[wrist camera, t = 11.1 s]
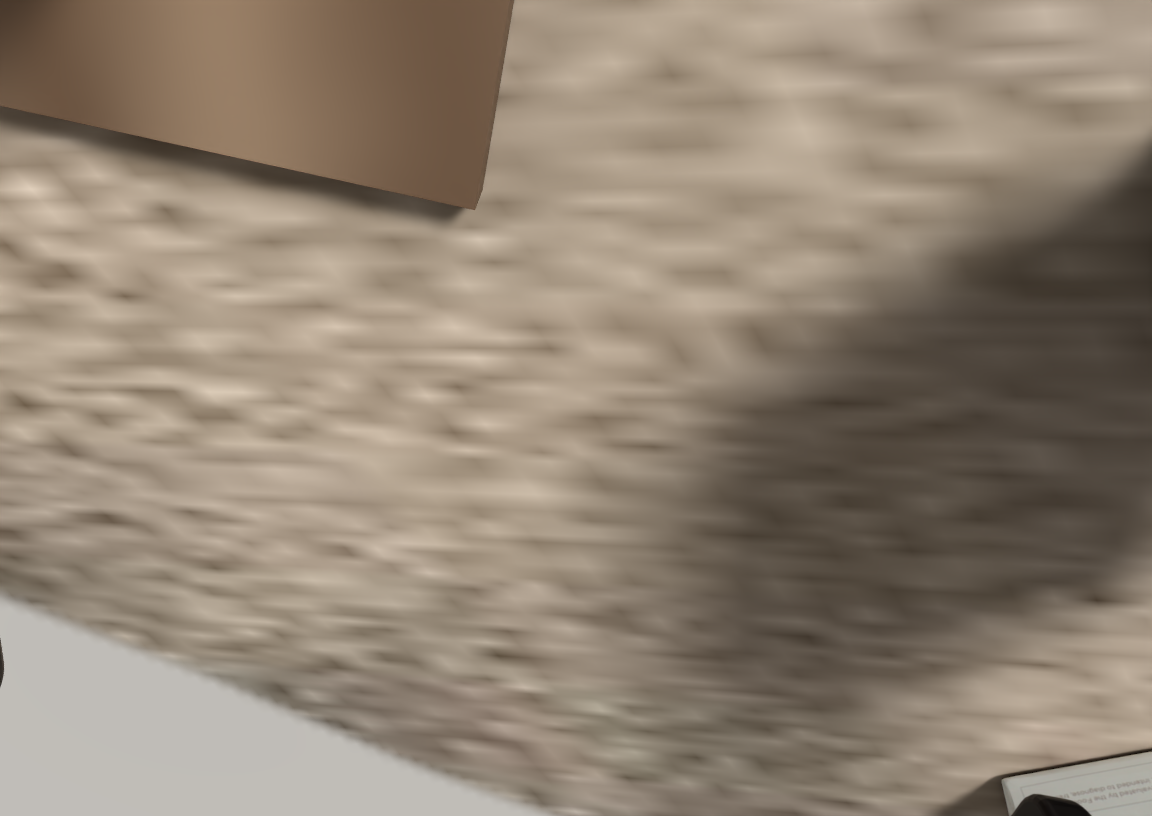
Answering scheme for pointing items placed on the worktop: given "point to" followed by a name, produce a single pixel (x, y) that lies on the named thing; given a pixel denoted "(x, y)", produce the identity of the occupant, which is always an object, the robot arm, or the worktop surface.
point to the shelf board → (276, 81)
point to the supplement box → (1091, 786)
